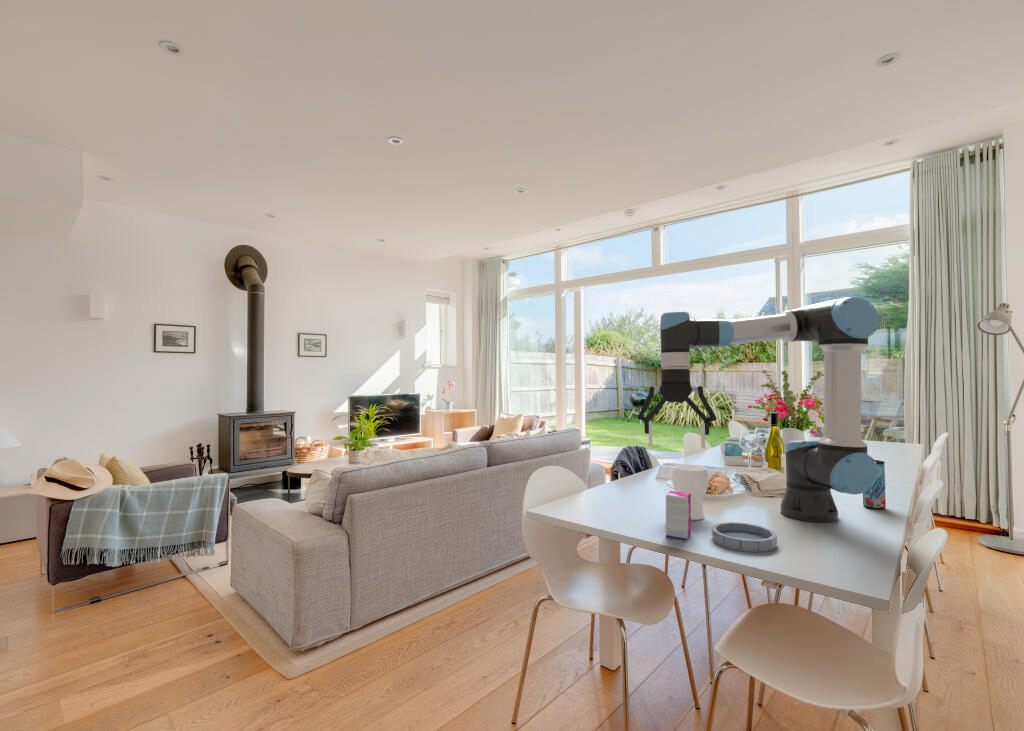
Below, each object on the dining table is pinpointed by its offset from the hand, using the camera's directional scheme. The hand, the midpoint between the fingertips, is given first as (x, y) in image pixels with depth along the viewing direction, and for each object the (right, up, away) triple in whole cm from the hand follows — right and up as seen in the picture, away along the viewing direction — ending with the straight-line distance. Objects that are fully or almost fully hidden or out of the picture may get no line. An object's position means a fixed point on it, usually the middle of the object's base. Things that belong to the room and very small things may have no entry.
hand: (676, 446), depth 133 cm
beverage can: (+72, -24, +25) cm, 80 cm away
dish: (+16, -24, -6) cm, 29 cm away
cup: (+10, -25, +17) cm, 32 cm away
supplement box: (0, -24, -1) cm, 24 cm away
